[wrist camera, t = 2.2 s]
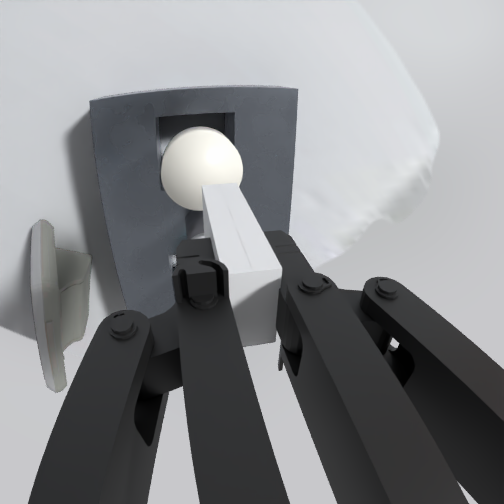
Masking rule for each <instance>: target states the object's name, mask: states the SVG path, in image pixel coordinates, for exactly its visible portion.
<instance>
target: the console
mask: <svg viewBox="0 0 504 504" xmlns="http://www.w3.org/2000/svg"><path fill="white" fill-rule="evenodd" d="M89 102H90V115H91V126H92V136H93V144H94V153H95V160H96V168H97V174H98V181H99V187H100V193H101V199H102V205H103V210H104V215H105V221H106V225H107V230H108V235H109V240H110V244H111V249H112V253H113V257H114V262H115V266H116V270H117V274H118V278H119V281H120V285H121V289H122V293H123V296H124V300H125V303H126V307H127V310H134V311H138V312H141V313H142V314H144V315H145V316H147V318H151V317H154V316H157V315H160V314H162V313H164V312H166V311H167V310H169V309H170V308H171V307H172V306H173V305H174V304H175V302H176V297H175V291H174V284H173V278H172V275H173V272H174V270H173V263H172V256H171V255H174V254H176V248H177V246H178V245H179V244H180V242H181V241H182V240H187V233H186V223H185V220H186V217H187V215H188V213H189V212H190V211H192V210H190V209H187V208H184V207H182V206H180V205H178V204H177V203H175V202H174V201H173V200H172V199H171V198H170V197H169V196H168V194H167V193H166V191H165V189H164V187H163V184H162V179H161V167H162V159H161V145H160V128H159V117H163V116H174V115H187V114H203V113H225V136H226V137H227V138H228V139H229V141H230V142H231V143H232V144H233V145H234V147H235V148H236V149H237V151H238V153H239V155H240V157H241V160H242V165H243V175H242V180H241V183H240V186H239V188H240V190H241V192H242V194H243V196H244V197H245V199H246V201H247V203H248V205H249V207H250V209H251V210H252V212H253V214H254V216H255V218H256V220H257V222H258V223H259V225H260V227H261V229H262V231H263V232H265V231H276V230H281V231H283V232H285V233H286V234H288V235H289V223H290V210H291V197H292V184H293V170H294V155H295V139H296V121H297V102H298V89H295V88H288V87H281V86H255V85H227V86H198V87H181V88H168V89H158V90H148V91H140V92H132V93H124V94H118V95H111V96H105V97H101V98H98V99H94V100H91V101H89Z"/></svg>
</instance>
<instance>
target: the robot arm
mask: <svg viewBox="0 0 504 504" xmlns="http://www.w3.org/2000/svg"><path fill="white" fill-rule="evenodd" d="M202 202H203V221H204V237H205V238H200V239H189V240H182V241H181V242H180V244H179V245H178V246H177V248H176V258H177V259H176V261H177V267H176V268H175V269H174V272H173V275H172V278H173V284H174V291H175V297H176V302H175V304H174V305H173V306H172V307H171V308H170V309H169V310H167V311H166V312H164V313H162V314H160V315H157V316H154V317H151V318H147V316H145V315H144V314H142V313H141V312H138V311H134V310H121V311H118V312H115V313H112V314H111V315H109V316H108V317H106V318H105V319H104V320H103V321H102V322H101V324H100V325H99V327H98V329H97V331H96V333H95V335H94V337H93V339H92V341H91V343H90V345H89V347H88V349H87V351H86V353H85V355H84V357H83V360H82V362H81V364H80V366H79V368H78V370H77V373H76V375H75V377H74V380H73V382H72V384H71V386H70V388H69V391H68V393H67V396H66V398H65V400H64V403H63V405H62V407H61V410H60V412H59V415H58V417H57V420H56V422H55V425H54V428H53V430H52V433H51V435H50V438H49V441H48V443H47V446H46V449H45V452H44V455H43V457H42V461H41V463H40V466H39V469H38V472H37V475H36V479H35V482H34V485H33V488H32V491H31V495H30V498H29V502H28V504H147V502H148V495H149V490H150V484H151V479H152V474H153V468H154V463H155V458H156V453H157V448H158V442H159V438H160V432H161V428H162V423H163V418H164V414H165V408H166V404H167V400H168V395H169V391H172V390H174V389H177V388H179V387H182V386H183V391H184V399H185V408H186V416H187V425H188V432H189V440H190V447H191V454H192V460H193V466H194V473H195V478H196V484H197V489H198V495H199V501H200V504H290V502H289V499H288V496H287V493H286V490H285V487H284V484H283V481H282V478H281V474H280V471H279V468H278V465H277V462H276V459H275V456H274V452H273V449H272V446H271V442H270V439H269V436H268V433H267V429H266V426H265V422H264V419H263V416H262V412H261V409H260V406H259V402H258V399H257V396H256V392H255V389H254V385H253V382H252V378H251V375H250V371H249V368H248V364H247V361H246V357H245V354H244V350H243V347H246V346H252V345H260V344H265V343H272V342H275V341H276V331H277V332H278V334H279V336H280V339H281V345H280V354H279V362H278V369H279V371H281V370H282V368H283V363H284V365H285V368H286V371H287V373H288V376H289V378H290V381H291V384H292V387H293V389H294V392H295V394H296V397H297V400H298V402H299V405H300V408H301V410H302V413H303V416H304V418H305V421H306V424H307V426H308V429H309V431H310V434H311V437H312V439H313V442H314V444H315V447H316V450H317V452H318V455H319V457H320V460H321V462H322V465H323V468H324V470H325V473H326V475H327V478H328V481H329V483H330V486H331V488H332V491H333V493H334V496H335V498H336V501H337V504H469V503H468V501H467V499H466V498H465V496H464V494H463V492H462V490H461V488H460V486H459V484H458V482H459V483H460V484H461V486H462V487H463V488H464V489H465V490H466V491H467V492H468V493H469V494H470V495H471V496H472V497H473V498H474V500H475V501H476V502H477V503H478V504H504V369H502V368H501V367H500V366H499V365H498V364H497V363H496V362H495V361H493V360H492V359H491V358H490V357H489V356H488V355H487V354H486V353H484V352H483V351H482V350H481V349H480V348H479V347H478V346H477V345H475V344H474V343H473V342H472V341H471V340H470V339H468V338H467V337H466V336H465V335H463V334H462V333H461V332H460V331H459V330H458V329H457V328H455V327H454V326H453V325H452V324H451V323H449V322H448V321H447V320H446V319H444V318H443V317H442V316H441V315H440V314H438V313H437V312H436V311H435V310H433V309H432V308H431V307H430V306H429V305H427V304H426V303H425V302H424V301H422V300H421V299H419V298H418V297H417V296H416V295H415V294H413V293H412V292H411V291H410V290H408V289H407V288H406V287H404V286H403V285H402V284H400V283H399V282H397V281H395V280H393V279H389V278H386V277H375V278H371V279H369V280H368V281H366V283H365V285H364V288H363V291H356V290H344V289H338V288H337V286H336V285H335V283H334V282H333V281H332V280H331V279H330V278H329V277H327V276H325V275H323V274H319V273H315V272H314V271H313V269H312V268H311V266H310V264H309V263H308V261H307V260H306V258H305V257H304V255H303V254H302V252H300V249H299V248H298V246H296V243H295V242H294V240H293V239H292V237H291V236H289V235H288V234H286V233H285V232H283V231H281V230H276V231H265V232H263V231H262V229H261V227H260V225H259V223H258V222H257V220H256V218H255V216H254V214H253V212H252V210H251V209H250V207H249V205H248V203H247V201H246V199H245V197H244V196H243V194H242V192H241V190H240V188H239V186H238V185H237V183H227V184H213V185H202ZM392 338H394V339H395V340H396V341H397V342H399V343H400V344H399V346H398V348H394V347H393V346H391V345H390V342H391V340H392ZM457 481H458V482H457Z"/></svg>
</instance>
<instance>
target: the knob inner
mask: <svg viewBox="0 0 504 504" xmlns="http://www.w3.org/2000/svg"><path fill="white" fill-rule="evenodd" d="M242 175H243V165H242V160H241V157H240V155H239V153H238V151H237V149H236V148H235V147H234V145H233V144H232V143H231V142H230V141H229V139H228V138H227V137H226V136H225V135H223V134H222V133H221V132H219V131H217V130H215V129H213V128H209V127H202V126H198V127H192V128H188V129H186V130H183V131H182V132H180V133H178V134H177V135H176V136H175V137H173V138H172V139H171V141H170V142H169V143H168V145H167V147H166V149H165V151H164V155H163V160H162V167H161V179H162V184H163V187H164V189H165V191H166V193H167V194H168V196H169V197H170V198H171V199H172V200H173V201H174V202H175V203H177V204H178V205H180V206H182V207H184V208H187V209H190V210H197V211H203V202H202V185H213V184H227V183H237V185H238V186H240V183H241V180H242Z"/></svg>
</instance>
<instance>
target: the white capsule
mask: <svg viewBox="0 0 504 504" xmlns="http://www.w3.org/2000/svg"><path fill="white" fill-rule="evenodd" d="M185 223H186V233H187V240H189V239H200V238H205V237H204V221H203V211H197V210H192V211H190V212H189V213H188V215H187V217H186V220H185Z"/></svg>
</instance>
